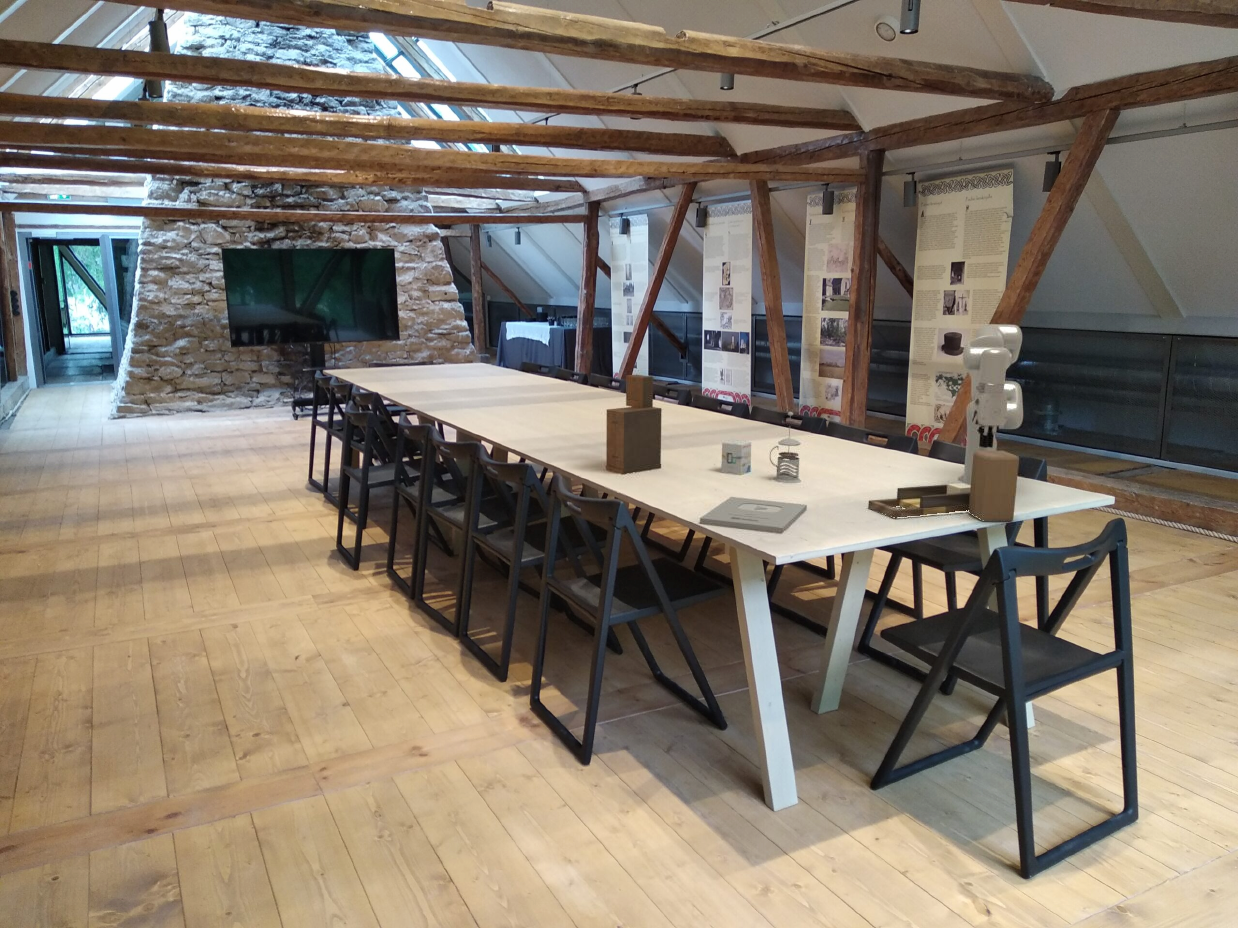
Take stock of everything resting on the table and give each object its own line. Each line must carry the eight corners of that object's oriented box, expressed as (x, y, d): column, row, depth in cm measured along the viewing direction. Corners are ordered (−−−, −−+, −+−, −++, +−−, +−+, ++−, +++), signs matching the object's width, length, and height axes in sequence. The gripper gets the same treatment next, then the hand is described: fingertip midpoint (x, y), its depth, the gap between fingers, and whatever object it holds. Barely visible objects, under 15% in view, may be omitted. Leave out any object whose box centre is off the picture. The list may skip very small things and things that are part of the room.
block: (998, 513, 266) (1004, 450, 262) (1014, 522, 256) (1020, 456, 252) (966, 513, 266) (972, 450, 262) (981, 522, 256) (987, 456, 252)
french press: (801, 483, 306) (804, 414, 301) (768, 482, 309) (771, 413, 304) (801, 478, 316) (804, 410, 311) (769, 476, 318) (771, 409, 313)
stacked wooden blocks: (637, 462, 343) (638, 374, 336) (661, 468, 332) (662, 377, 325) (599, 468, 331) (599, 377, 324) (623, 474, 320) (623, 380, 313)
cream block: (946, 497, 275) (947, 484, 274) (961, 496, 277) (963, 483, 276) (958, 502, 270) (960, 488, 269) (974, 500, 271) (976, 487, 270)
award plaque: (699, 525, 253) (700, 517, 252) (730, 503, 279) (731, 496, 279) (782, 535, 243) (782, 527, 242) (806, 511, 269) (806, 504, 269)
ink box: (731, 469, 331) (731, 439, 329) (751, 471, 327) (752, 441, 324) (720, 472, 325) (721, 442, 322) (741, 475, 320) (742, 444, 318)
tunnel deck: (868, 508, 272) (869, 489, 270) (960, 500, 282) (962, 482, 281) (894, 519, 258) (896, 499, 257) (990, 510, 269) (992, 492, 268)
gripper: (978, 391, 263) (973, 450, 267) (1020, 389, 268) (1014, 447, 271) (962, 388, 270) (957, 446, 274) (1002, 387, 275) (997, 443, 278)
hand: (985, 446), depth 272 cm, fingers closed
